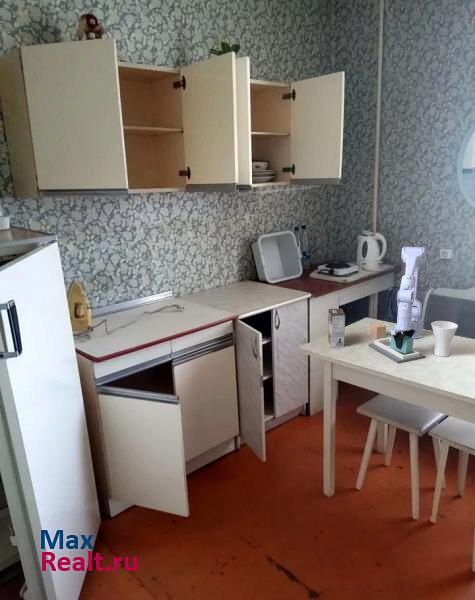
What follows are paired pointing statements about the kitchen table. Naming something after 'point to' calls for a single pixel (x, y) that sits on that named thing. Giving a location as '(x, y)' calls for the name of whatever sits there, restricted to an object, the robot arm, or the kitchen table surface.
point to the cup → (443, 337)
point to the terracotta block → (378, 330)
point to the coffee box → (336, 327)
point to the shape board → (394, 351)
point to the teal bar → (403, 344)
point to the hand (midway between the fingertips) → (402, 346)
